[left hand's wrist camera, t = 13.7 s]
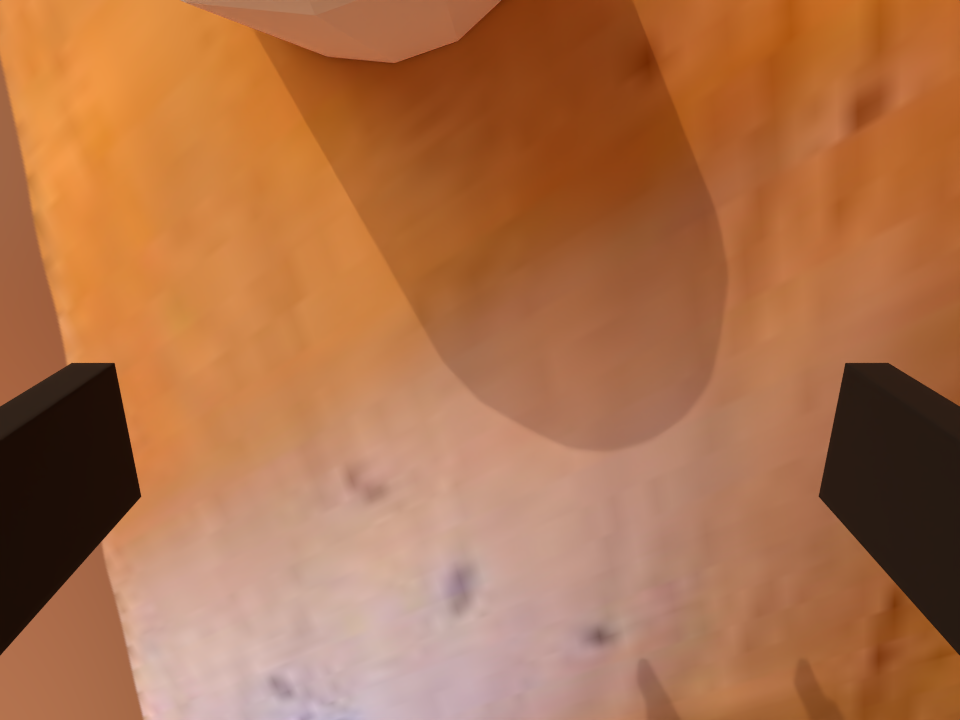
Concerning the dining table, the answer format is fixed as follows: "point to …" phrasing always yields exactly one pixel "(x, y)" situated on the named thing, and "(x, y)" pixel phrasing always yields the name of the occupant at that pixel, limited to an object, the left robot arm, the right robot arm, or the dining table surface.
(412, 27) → the container
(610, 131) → the dining table surface
